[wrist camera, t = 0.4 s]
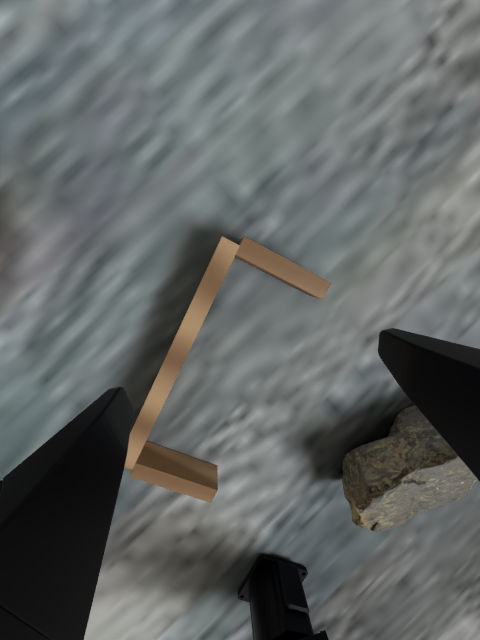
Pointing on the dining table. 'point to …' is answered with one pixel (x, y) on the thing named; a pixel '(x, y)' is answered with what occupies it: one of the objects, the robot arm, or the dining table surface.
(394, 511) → the rock
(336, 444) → the dining table surface
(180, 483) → the wooden u-shaped handle
